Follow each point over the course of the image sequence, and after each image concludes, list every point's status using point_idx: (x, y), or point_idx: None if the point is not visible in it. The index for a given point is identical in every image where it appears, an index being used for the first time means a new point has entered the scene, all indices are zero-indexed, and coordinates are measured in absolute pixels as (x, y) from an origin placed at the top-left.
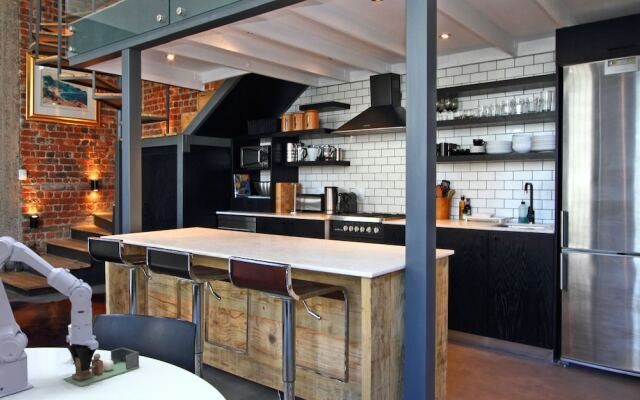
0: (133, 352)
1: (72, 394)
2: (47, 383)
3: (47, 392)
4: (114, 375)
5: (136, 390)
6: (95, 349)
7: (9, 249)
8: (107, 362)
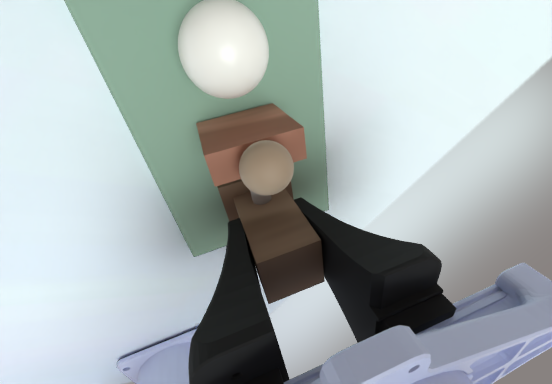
0: None
1: None
2: (194, 293)
3: None
4: (317, 47)
5: (524, 46)
6: (413, 248)
7: None
8: (261, 70)
